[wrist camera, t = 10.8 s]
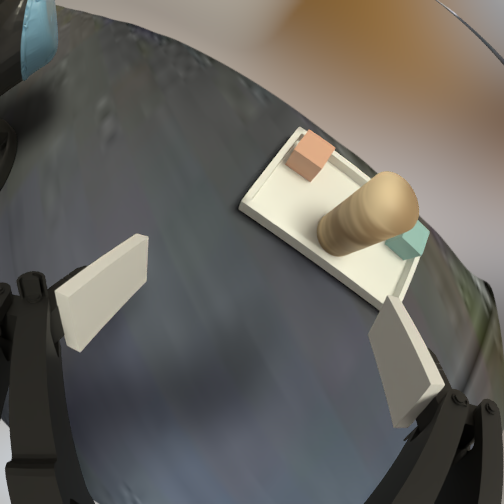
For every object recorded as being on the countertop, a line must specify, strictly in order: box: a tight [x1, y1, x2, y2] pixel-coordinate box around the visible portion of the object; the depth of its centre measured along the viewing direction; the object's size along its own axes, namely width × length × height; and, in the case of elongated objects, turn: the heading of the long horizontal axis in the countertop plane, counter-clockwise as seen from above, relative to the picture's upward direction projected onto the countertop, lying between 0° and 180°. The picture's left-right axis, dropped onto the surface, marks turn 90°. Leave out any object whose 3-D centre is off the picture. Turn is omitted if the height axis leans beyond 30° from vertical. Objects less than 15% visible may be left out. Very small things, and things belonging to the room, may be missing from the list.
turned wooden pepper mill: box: [317, 171, 419, 257], centre depth 24 cm, size 5×5×11 cm
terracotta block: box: [285, 130, 335, 182], centre depth 29 cm, size 4×4×4 cm
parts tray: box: [238, 127, 420, 311], centre depth 30 cm, size 21×12×2 cm, turn 56°
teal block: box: [385, 220, 430, 260], centre depth 29 cm, size 4×4×4 cm
